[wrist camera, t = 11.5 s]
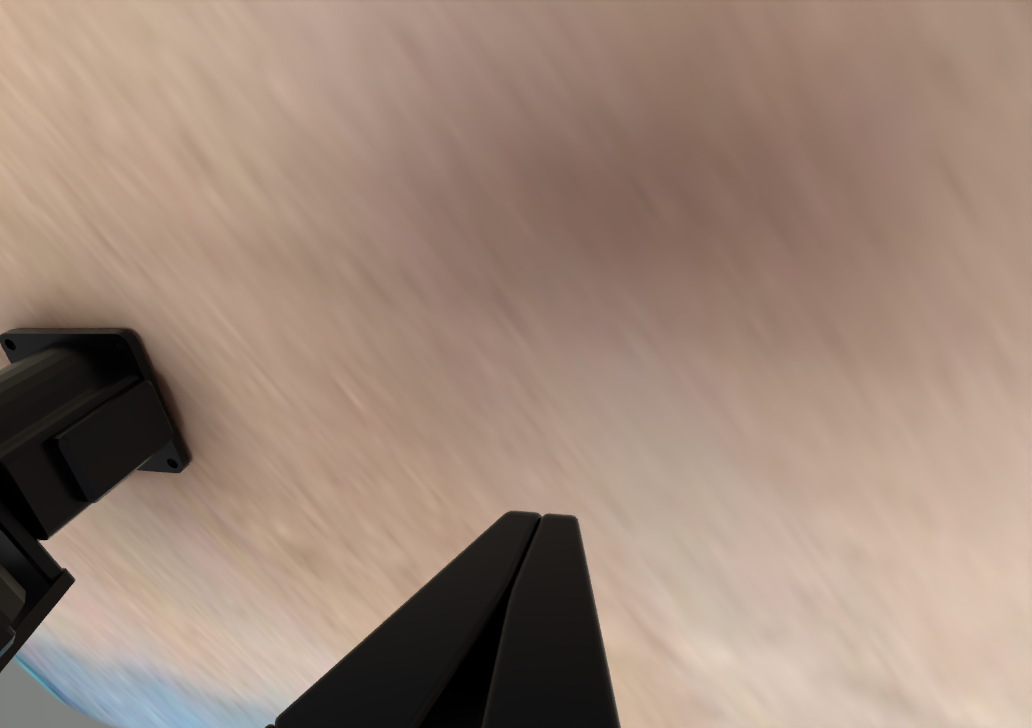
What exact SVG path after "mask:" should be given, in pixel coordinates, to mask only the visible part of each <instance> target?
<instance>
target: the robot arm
mask: <svg viewBox="0 0 1032 728" xmlns="http://www.w3.org/2000/svg"><path fill="white" fill-rule="evenodd" d="M0 344H1V346H2V348H3V349H4V351H5V353H6V355H7V357H8V359H9V360H10V362H11V364H10V365H8V366H7V367H5V368H3V369H1V370H0V672H1V671H2V670H3V669H4V667H5V666H6V665H7V664H8V663H9V661H10V660H11V659H12V658H13V656H14V655H15V654H16V653H17V652H18V650H19V649H20V648H21V647H22V645H23V644H24V643H25V642H26V640H27V639H28V638H29V637H30V636H31V634H32V633H33V632H34V631H35V629H36V628H37V627H38V626H39V625H40V623H41V622H42V621H43V620H44V618H45V617H46V616H47V615H48V614H49V612H50V611H51V610H52V609H53V607H54V606H55V605H56V604H57V603H58V601H59V600H60V599H61V598H62V596H63V595H64V594H65V593H66V592H67V590H68V589H69V588H70V587H71V585H72V584H73V583H74V582H75V578H74V577H73V576H72V575H71V574H70V573H69V571H68V570H67V569H66V568H63V569H62V568H61V567H60V566H59V565H58V563H57V562H56V561H55V560H54V559H53V558H52V556H51V555H50V554H49V553H48V552H47V551H46V549H45V548H44V547H43V546H42V545H41V544H40V543H39V541H40V540H48V539H49V538H50V537H52V536H53V535H54V534H55V533H57V532H58V531H59V530H60V529H61V528H63V527H64V526H65V525H66V524H68V523H69V522H70V521H71V520H73V519H74V518H75V517H76V516H77V515H79V514H80V513H81V512H82V511H84V510H85V509H86V508H87V507H88V506H90V505H91V504H92V503H96V502H98V501H99V500H100V499H102V498H103V497H104V496H105V495H107V494H108V493H109V492H110V491H111V490H113V489H114V488H115V487H116V486H117V485H119V484H120V483H121V482H122V481H124V480H125V479H126V478H127V477H128V476H130V475H131V474H132V473H133V472H134V471H136V470H142V471H155V472H169V473H180V472H182V471H183V470H184V469H185V468H186V467H187V466H188V465H189V463H190V461H189V458H188V455H187V453H186V451H185V448H184V446H183V444H182V442H181V439H180V437H179V435H178V432H177V430H176V428H175V425H174V423H173V421H172V419H171V416H170V414H169V412H168V409H167V407H166V405H165V403H164V400H163V398H162V396H161V393H160V391H159V389H158V386H157V384H156V382H155V380H154V377H153V375H152V373H151V370H150V368H149V366H148V364H147V361H146V359H145V357H144V354H143V352H142V350H141V347H140V345H139V343H138V341H137V339H136V337H135V336H134V335H133V334H132V333H131V332H129V331H127V330H124V329H12V330H9V331H7V332H5V333H3V334H1V335H0ZM265 728H621V726H620V721H619V716H618V711H617V707H616V702H615V697H614V692H613V687H612V682H611V677H610V673H609V668H608V663H607V658H606V653H605V648H604V643H603V639H602V634H601V629H600V624H599V619H598V614H597V609H596V605H595V600H594V595H593V590H592V585H591V580H590V575H589V571H588V566H587V561H586V556H585V551H584V546H583V542H582V537H581V532H580V527H579V522H578V519H577V518H576V517H575V516H573V515H562V514H550V513H549V514H545V515H544V516H543V517H542V516H541V515H540V514H539V513H536V512H525V511H509V512H507V513H505V514H504V515H503V516H502V517H500V518H499V519H498V520H497V521H496V522H495V523H494V524H493V525H492V526H490V527H489V528H488V529H487V530H486V531H485V532H484V533H483V534H481V535H480V536H479V537H478V538H477V539H476V540H475V541H474V542H473V543H471V544H470V545H469V546H468V547H467V548H466V549H465V550H464V551H462V552H461V553H460V554H459V555H458V556H457V557H456V558H455V559H453V560H452V561H451V562H450V563H449V564H448V565H447V566H446V567H445V568H443V569H442V570H441V571H440V572H439V573H438V574H437V575H436V576H434V577H433V578H432V579H431V580H430V581H429V582H428V583H427V584H426V585H424V586H423V587H422V588H421V589H420V590H419V591H418V592H417V593H415V594H414V595H413V596H412V597H411V598H410V599H409V600H408V601H406V602H405V603H404V604H403V605H402V606H401V607H400V608H399V609H398V610H396V611H395V612H394V613H393V614H392V615H391V616H390V617H389V618H387V619H386V620H385V621H384V622H383V623H382V624H381V625H380V626H379V627H377V628H376V629H375V630H374V631H373V632H372V633H371V634H370V635H368V636H367V637H366V638H365V639H364V640H363V641H362V642H361V643H359V644H358V645H357V646H356V647H355V648H354V649H353V650H352V651H351V652H349V653H348V654H347V655H346V656H345V657H344V658H343V659H342V660H340V661H339V662H338V663H337V664H336V665H335V666H334V667H333V668H331V669H330V670H329V671H328V672H327V673H326V674H325V675H324V676H323V677H321V678H320V679H319V680H318V681H317V682H316V683H315V684H314V685H312V686H311V687H310V688H309V689H308V690H307V691H306V692H305V693H304V694H302V695H301V696H300V697H299V698H298V699H297V700H296V701H295V702H293V703H292V704H291V705H290V706H289V707H288V708H287V709H286V710H284V711H283V712H282V713H281V714H280V715H279V716H278V717H277V718H276V721H275V726H274V725H273V724H269V725H267V726H266V727H265Z"/></svg>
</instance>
